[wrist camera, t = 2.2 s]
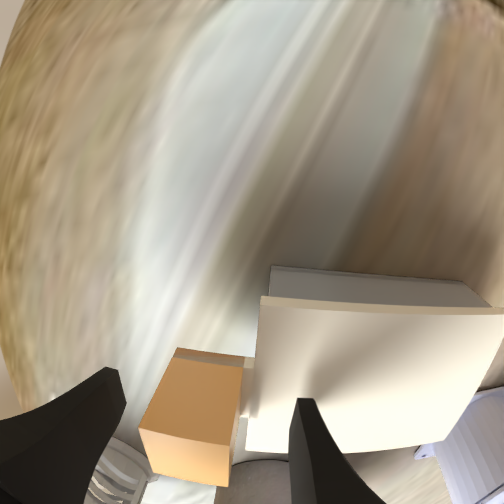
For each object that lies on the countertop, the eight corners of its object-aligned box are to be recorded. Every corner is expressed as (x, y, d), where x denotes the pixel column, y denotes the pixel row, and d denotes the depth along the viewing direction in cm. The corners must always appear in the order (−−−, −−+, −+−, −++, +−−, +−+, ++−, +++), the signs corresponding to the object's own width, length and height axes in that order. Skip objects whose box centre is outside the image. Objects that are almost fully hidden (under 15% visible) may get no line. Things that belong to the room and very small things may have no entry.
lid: (505, 307, 10) (559, 357, 6) (440, 432, 13) (463, 487, 8) (174, 286, 11) (119, 358, 6) (185, 431, 13) (164, 499, 9)
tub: (461, 281, 14) (499, 313, 10) (419, 388, 16) (438, 429, 13) (271, 265, 14) (268, 303, 11) (257, 387, 17) (252, 437, 13)
